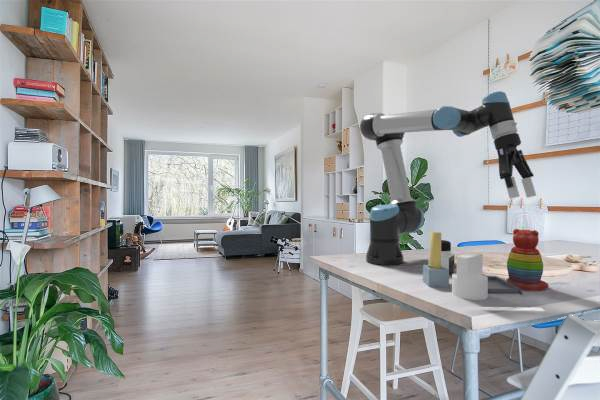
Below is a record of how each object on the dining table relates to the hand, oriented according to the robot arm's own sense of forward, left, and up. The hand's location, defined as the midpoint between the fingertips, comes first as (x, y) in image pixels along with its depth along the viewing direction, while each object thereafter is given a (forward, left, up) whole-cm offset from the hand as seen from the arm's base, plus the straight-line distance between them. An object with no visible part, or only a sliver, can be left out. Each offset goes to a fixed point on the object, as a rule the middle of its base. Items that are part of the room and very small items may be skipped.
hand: (523, 197), depth 113 cm
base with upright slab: (+19, -25, -28) cm, 42 cm away
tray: (+10, -15, -27) cm, 33 cm away
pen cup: (+8, -31, -27) cm, 42 cm away
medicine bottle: (-7, -24, -28) cm, 37 cm away
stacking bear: (+8, -4, -28) cm, 29 cm away
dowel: (+8, -31, -27) cm, 42 cm away
